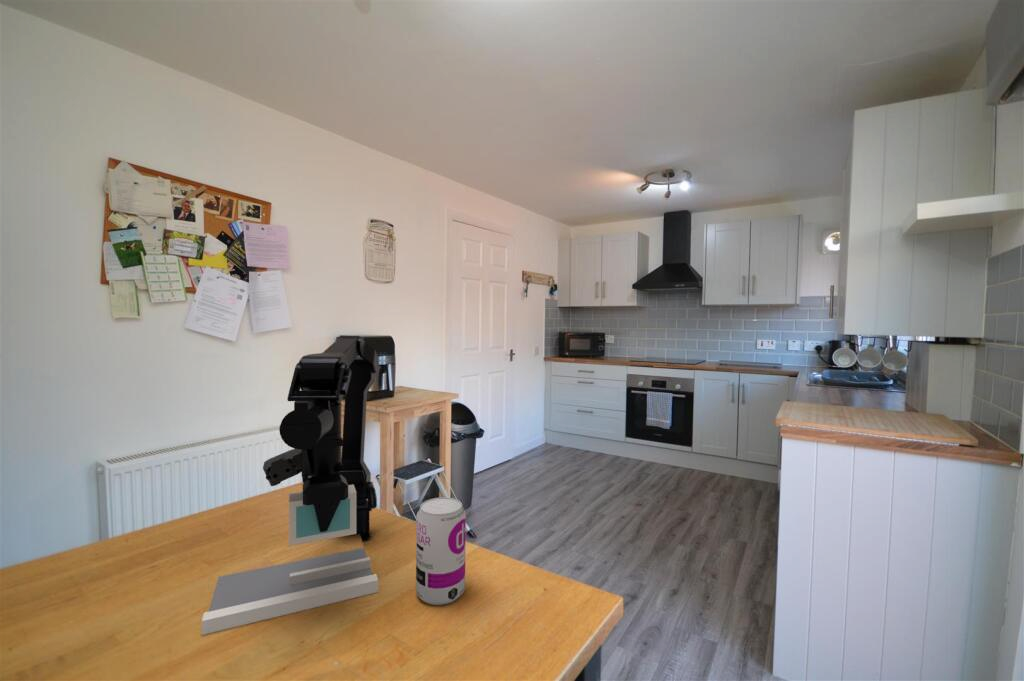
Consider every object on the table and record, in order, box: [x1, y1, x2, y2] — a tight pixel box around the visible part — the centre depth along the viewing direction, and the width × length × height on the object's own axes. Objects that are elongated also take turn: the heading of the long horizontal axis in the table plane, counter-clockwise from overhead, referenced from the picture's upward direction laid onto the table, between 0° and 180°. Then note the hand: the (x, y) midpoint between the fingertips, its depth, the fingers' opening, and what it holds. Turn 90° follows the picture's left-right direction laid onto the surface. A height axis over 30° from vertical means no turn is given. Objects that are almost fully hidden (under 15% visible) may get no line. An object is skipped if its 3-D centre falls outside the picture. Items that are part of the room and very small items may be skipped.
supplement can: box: [415, 496, 467, 606], centre depth 75 cm, size 8×8×15 cm
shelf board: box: [201, 547, 379, 636], centre depth 75 cm, size 24×16×4 cm, turn 116°
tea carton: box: [288, 484, 356, 547], centre depth 74 cm, size 4×10×7 cm, turn 116°
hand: (322, 525), depth 74 cm, fingers closed on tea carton, 4 cm apart
